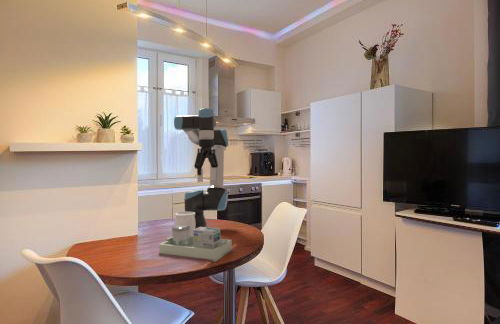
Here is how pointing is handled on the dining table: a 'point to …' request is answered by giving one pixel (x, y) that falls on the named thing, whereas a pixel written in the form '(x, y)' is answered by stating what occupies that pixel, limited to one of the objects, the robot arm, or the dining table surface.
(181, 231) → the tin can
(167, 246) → the tray
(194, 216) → the robot arm
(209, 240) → the light bulb box
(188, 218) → the jar
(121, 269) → the dining table surface
